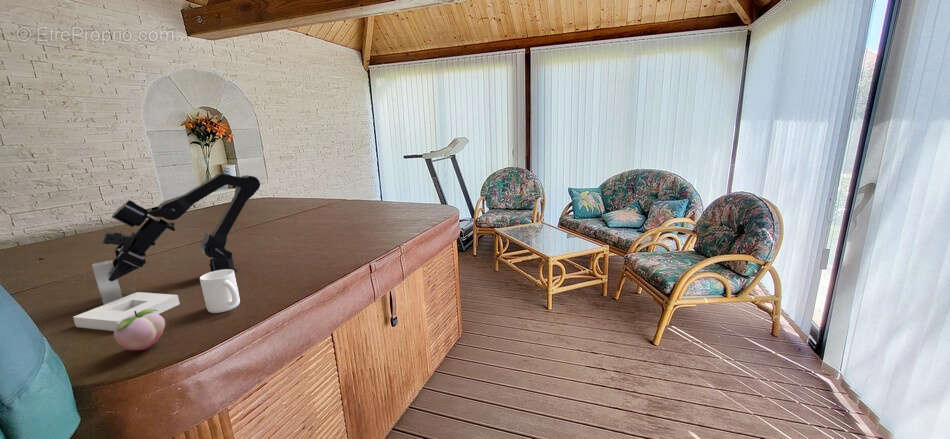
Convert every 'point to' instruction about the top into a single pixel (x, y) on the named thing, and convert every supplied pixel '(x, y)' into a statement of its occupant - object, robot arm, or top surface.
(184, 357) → the top surface
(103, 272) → the grey square peg
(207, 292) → the mug
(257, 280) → the top surface
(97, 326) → the socket plate
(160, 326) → the decorative fruit
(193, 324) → the top surface
